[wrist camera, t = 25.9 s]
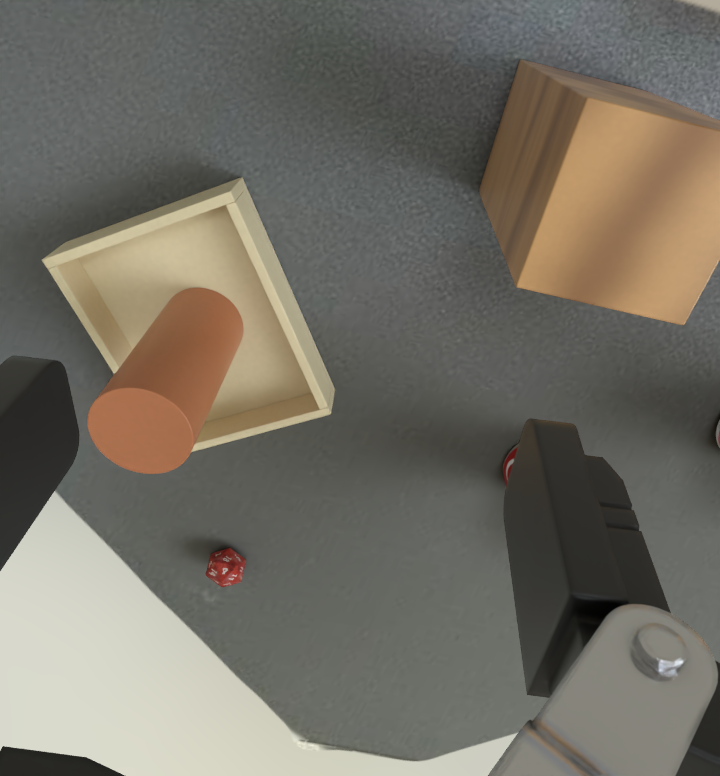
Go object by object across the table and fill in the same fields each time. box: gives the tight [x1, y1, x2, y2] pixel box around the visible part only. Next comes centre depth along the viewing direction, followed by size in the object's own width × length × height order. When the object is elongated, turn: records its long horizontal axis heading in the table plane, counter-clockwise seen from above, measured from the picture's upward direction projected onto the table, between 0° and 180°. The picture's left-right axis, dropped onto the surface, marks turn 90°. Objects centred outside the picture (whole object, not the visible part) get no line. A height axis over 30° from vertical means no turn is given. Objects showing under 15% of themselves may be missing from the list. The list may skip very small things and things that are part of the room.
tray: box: [42, 177, 335, 452], centre depth 41 cm, size 15×12×3 cm
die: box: [206, 548, 246, 587], centre depth 52 cm, size 3×3×3 cm
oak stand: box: [479, 59, 720, 325], centre depth 29 cm, size 7×7×14 cm
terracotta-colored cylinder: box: [88, 288, 244, 474], centre depth 37 cm, size 5×5×12 cm
